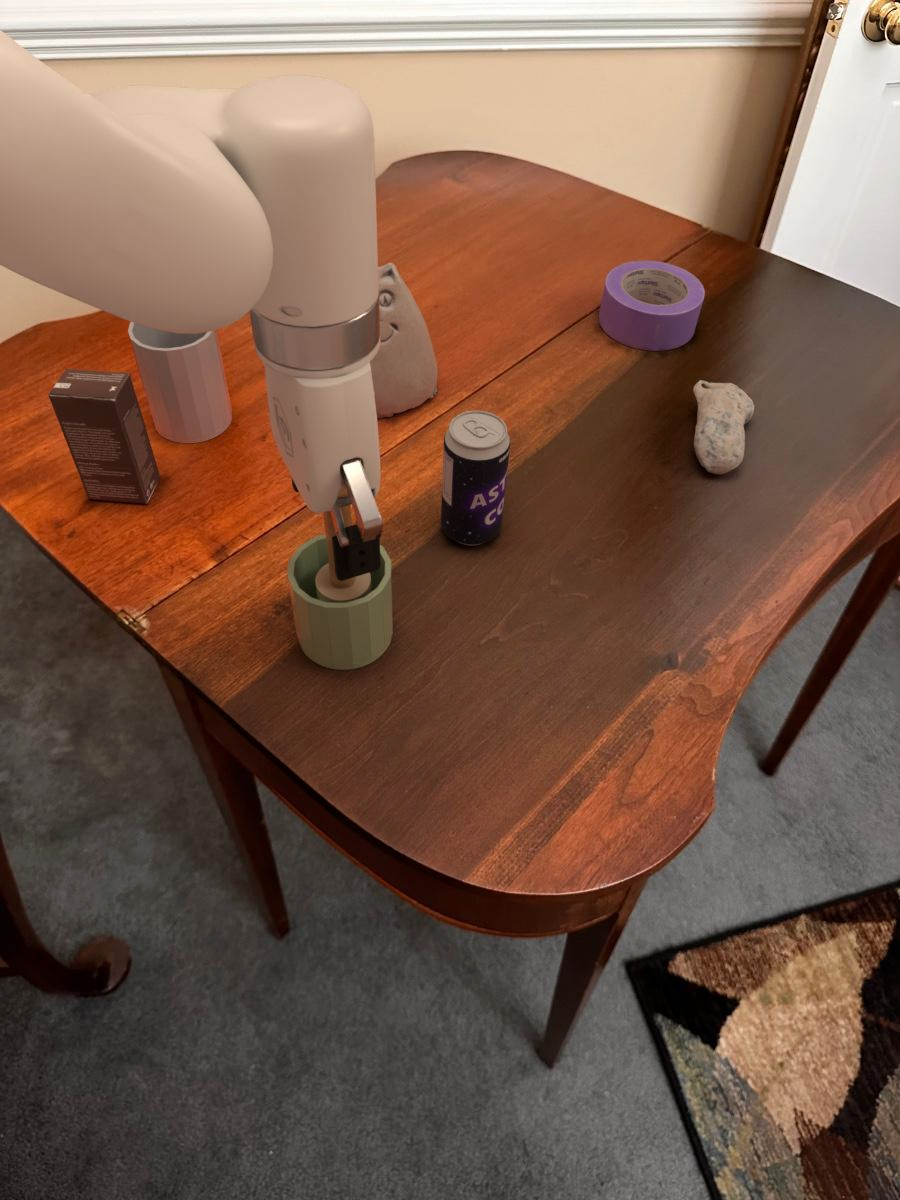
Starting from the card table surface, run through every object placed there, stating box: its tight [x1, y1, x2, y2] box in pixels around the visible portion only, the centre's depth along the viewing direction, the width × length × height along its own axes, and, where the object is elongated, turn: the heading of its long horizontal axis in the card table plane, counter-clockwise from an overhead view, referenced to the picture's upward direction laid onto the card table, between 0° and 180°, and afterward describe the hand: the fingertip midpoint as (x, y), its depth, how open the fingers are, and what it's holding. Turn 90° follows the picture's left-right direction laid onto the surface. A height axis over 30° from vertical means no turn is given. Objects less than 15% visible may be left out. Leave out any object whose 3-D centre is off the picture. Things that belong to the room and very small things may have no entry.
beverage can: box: [440, 410, 511, 546], centre depth 77 cm, size 6×6×12 cm
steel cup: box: [127, 321, 233, 444], centre depth 87 cm, size 8×8×11 cm
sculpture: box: [370, 262, 439, 419], centre depth 90 cm, size 13×12×15 cm
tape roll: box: [598, 260, 706, 352], centre depth 104 cm, size 12×12×5 cm
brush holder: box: [286, 533, 394, 671], centre depth 71 cm, size 8×8×8 cm
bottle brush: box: [315, 484, 372, 603], centre depth 67 cm, size 4×4×16 cm
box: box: [47, 368, 161, 505], centre depth 80 cm, size 6×4×12 cm
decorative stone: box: [692, 380, 755, 475], centre depth 90 cm, size 13×7×5 cm, turn 171°
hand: (335, 527), depth 64 cm, fingers open, 9 cm apart
